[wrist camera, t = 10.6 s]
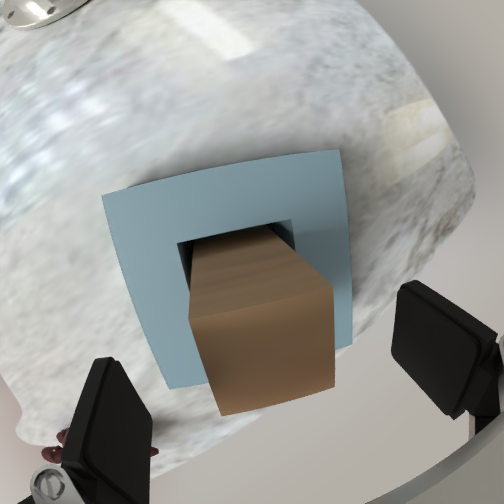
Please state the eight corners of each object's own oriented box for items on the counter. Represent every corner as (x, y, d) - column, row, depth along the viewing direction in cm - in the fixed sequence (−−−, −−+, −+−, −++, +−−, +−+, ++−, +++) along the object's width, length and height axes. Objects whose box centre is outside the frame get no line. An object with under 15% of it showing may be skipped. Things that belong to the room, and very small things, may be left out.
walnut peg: (194, 232, 20) (188, 319, 8) (259, 219, 20) (332, 286, 9) (208, 292, 21) (221, 416, 10) (268, 279, 22) (334, 386, 10)
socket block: (125, 188, 18) (101, 195, 13) (307, 152, 19) (339, 148, 15) (173, 348, 22) (169, 389, 17) (325, 312, 23) (352, 344, 19)
